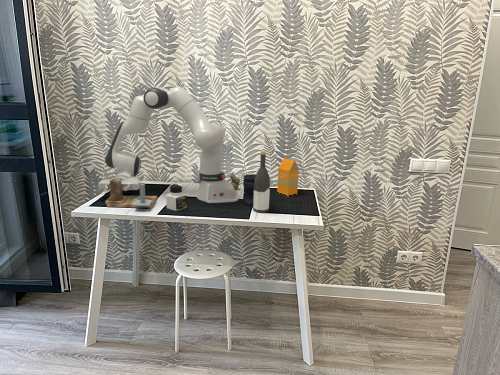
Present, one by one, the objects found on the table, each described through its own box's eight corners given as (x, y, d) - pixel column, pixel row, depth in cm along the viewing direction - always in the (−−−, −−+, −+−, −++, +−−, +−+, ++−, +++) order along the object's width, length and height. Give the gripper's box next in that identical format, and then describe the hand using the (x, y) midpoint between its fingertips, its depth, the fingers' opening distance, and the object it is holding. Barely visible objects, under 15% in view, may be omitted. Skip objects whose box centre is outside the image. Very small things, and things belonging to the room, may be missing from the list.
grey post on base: (152, 201, 204) (151, 182, 201) (149, 206, 196) (148, 187, 194) (136, 200, 203) (136, 182, 200) (133, 205, 196) (132, 186, 193)
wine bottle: (257, 206, 209) (260, 148, 200) (271, 209, 205) (274, 150, 196) (249, 211, 202) (251, 151, 194) (264, 214, 198) (266, 153, 190)
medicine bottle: (176, 211, 198) (175, 187, 195) (166, 208, 203) (165, 185, 199) (186, 207, 204) (186, 184, 201) (176, 204, 208) (176, 182, 205)
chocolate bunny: (238, 191, 233) (238, 174, 230) (224, 190, 235) (224, 173, 232) (240, 188, 238) (240, 172, 235) (227, 187, 240) (227, 171, 237)
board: (158, 198, 216) (157, 194, 215) (153, 207, 203) (152, 202, 202) (113, 198, 215) (112, 193, 214) (105, 207, 201) (104, 201, 201)
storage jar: (262, 207, 207) (263, 179, 203) (242, 207, 207) (243, 178, 203) (261, 201, 217) (262, 174, 213) (242, 201, 217) (243, 173, 212)
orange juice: (287, 196, 227) (289, 161, 221) (276, 192, 233) (278, 158, 227) (297, 194, 231) (299, 159, 226) (286, 190, 238) (288, 156, 232)
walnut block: (122, 199, 208) (121, 179, 205) (120, 202, 204) (118, 181, 201) (113, 199, 208) (112, 178, 205) (111, 202, 204) (109, 181, 201)
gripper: (102, 175, 215) (93, 182, 202) (141, 176, 216) (135, 183, 203) (103, 187, 217) (94, 195, 204) (142, 187, 218) (136, 195, 205)
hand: (115, 189), depth 203 cm, fingers open, 8 cm apart
